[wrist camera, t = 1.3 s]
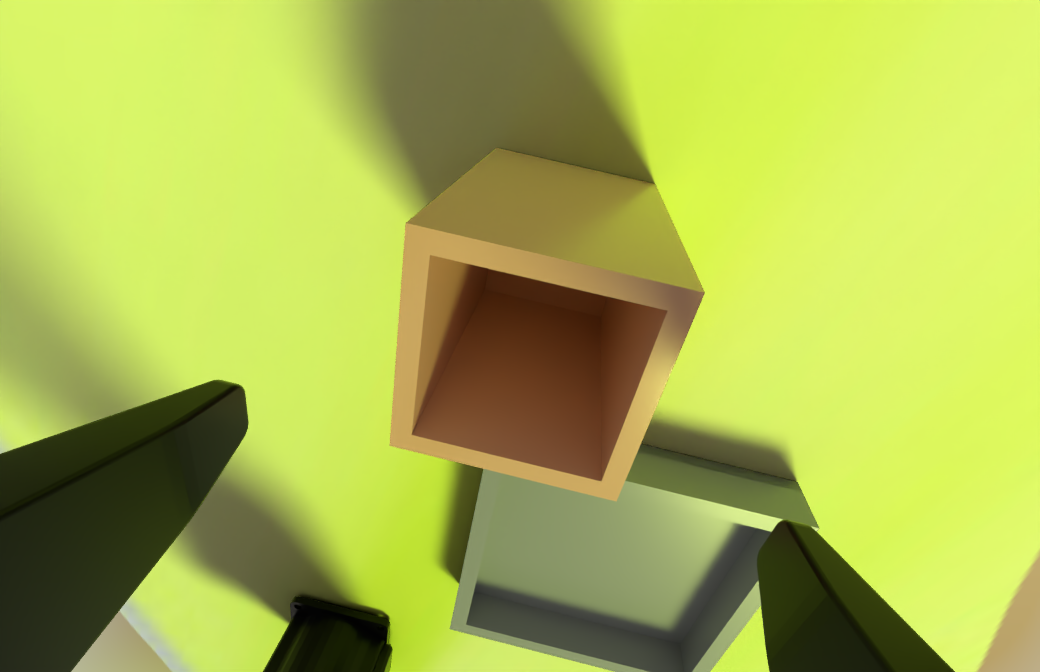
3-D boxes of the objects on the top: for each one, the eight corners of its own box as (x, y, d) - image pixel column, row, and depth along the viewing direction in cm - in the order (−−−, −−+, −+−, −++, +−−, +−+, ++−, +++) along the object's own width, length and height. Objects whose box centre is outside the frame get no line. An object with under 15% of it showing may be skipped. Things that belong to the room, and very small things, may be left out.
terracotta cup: (473, 291, 19) (389, 445, 12) (496, 147, 17) (405, 223, 9) (609, 323, 19) (616, 501, 11) (655, 183, 16) (704, 292, 9)
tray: (461, 586, 29) (449, 629, 27) (498, 409, 22) (488, 446, 20) (687, 644, 29) (694, 691, 26) (797, 481, 22) (819, 528, 20)
